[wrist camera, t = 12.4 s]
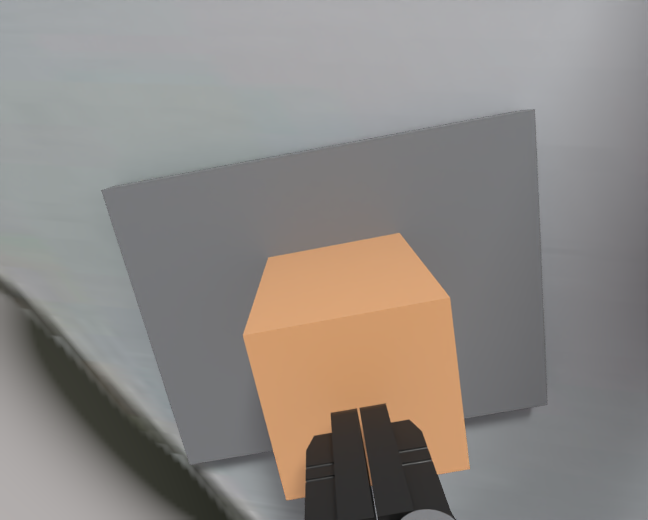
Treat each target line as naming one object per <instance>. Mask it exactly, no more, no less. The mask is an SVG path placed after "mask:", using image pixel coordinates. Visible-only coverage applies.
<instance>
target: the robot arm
mask: <svg viewBox="0 0 648 520" xmlns="http://www.w3.org/2000/svg"><path fill="white" fill-rule="evenodd" d="M359 409H360V415H361V421H362V427H363V433H364V439H365V445H366V451H367V456H368V462H369V468H370V474H371V480H372V486H373V492H374V498H375V504H376V510H377V516H378V520H456V519H455V518H454V516H453V515H452V513H451V511H450V508H449V505H448V503H447V500H446V497H445V494H444V491H443V489H442V486H441V483H440V480H439V477H438V475H437V472H436V469H435V466H434V464H433V462H432V458H431V455H430V452H429V450H428V448H427V444H426V441H425V438H424V436H423V433H422V431H421V430H420V429H419V428H418V427H417V426H416V425H415V424H414V423H413V422H412V421H410V420H403V421H397V422H391V421H390V417H389V413H388V410H387V406H386V403H384V404H378V405H372V406H366V407H361V408H359ZM331 428H332V433H327V434H321V435H315V436H314V437H313V439H312V440H311V442H310V444H309V446H308V448H307V450H306V483H305V520H376V514H375V508H374V501H373V495H372V489H371V483H370V477H369V471H368V466H367V460H366V454H365V449H364V443H363V438H362V432H361V427H360V422H359V416H358V411H357V408H355V409H349V410H344V411H338V412H332V413H331Z"/></svg>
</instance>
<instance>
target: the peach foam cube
mask: <svg viewBox="0 0 648 520" xmlns="http://www.w3.org/2000/svg"><path fill="white" fill-rule="evenodd" d="M243 338H244V342H245V346H246V350H247V354H248V357H249V361H250V365H251V369H252V372H253V376H254V380H255V384H256V388H257V391H258V395H259V399H260V403H261V406H262V410H263V414H264V418H265V422H266V425H267V429H268V433H269V437H270V440H271V444H272V448H273V452H274V456H275V459H276V463H277V467H278V471H279V474H280V478H281V482H282V486H283V490H284V493H285V497H286V500H292V499H297V498H303V497H305V483H306V450H307V448H308V446H309V444H310V442H311V440H312V439H313V437H314V436H315V435H321V434H327V433H332V428H331V413H332V412H338V411H344V410H349V409H355V408H357V411H358V416H359V422H360V427H361V432H362V438H363V443H364V449H365V454H366V460H367V466H368V471H369V477H370V483H371V486H372V480H371V474H370V468H369V462H368V456H367V451H366V445H365V439H364V433H363V427H362V421H361V415H360V409H359V408H361V407H366V406H372V405H378V404H384V403H386V406H387V410H388V413H389V417H390V421H391V422H397V421H403V420H410V421H412V422H413V423H414V424H415V425H416V426H417V427H418V428H419V429H420V430H421V431H422V433H423V436H424V438H425V441H426V444H427V448H428V450H429V452H430V455H431V458H432V462H433V464H434V466H435V469H436V472H437V475H438V474H444V473H449V472H455V471H461V470H467V469H470V466H469V457H468V448H467V440H466V431H465V422H464V414H463V405H462V396H461V388H460V379H459V370H458V362H457V353H456V344H455V335H454V327H453V318H452V309H451V301H450V297H449V295H448V294H447V293H446V292H445V290H444V289H443V288H442V286H441V285H440V284H439V283H438V281H437V280H436V279H435V278H434V276H433V275H432V274H431V272H430V271H429V270H428V269H427V267H426V266H425V265H424V263H423V262H422V261H421V260H420V258H419V257H418V256H417V255H416V253H415V252H414V251H413V249H412V248H411V247H410V246H409V244H408V243H407V242H406V240H405V239H404V238H403V237H402V235H401V234H400V233H396V234H391V235H386V236H380V237H375V238H370V239H364V240H359V241H354V242H348V243H343V244H338V245H332V246H327V247H322V248H316V249H311V250H306V251H300V252H295V253H290V254H284V255H279V256H274V257H268V260H267V263H266V266H265V269H264V272H263V275H262V278H261V281H260V284H259V287H258V290H257V293H256V296H255V299H254V302H253V306H252V309H251V312H250V315H249V318H248V321H247V324H246V327H245V330H244V333H243Z"/></svg>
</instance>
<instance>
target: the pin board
mask: <svg viewBox="0 0 648 520" xmlns="http://www.w3.org/2000/svg"><path fill="white" fill-rule="evenodd" d="M101 191H102V194H103V197H104V200H105V203H106V206H107V209H108V213H109V216H110V219H111V222H112V225H113V228H114V231H115V234H116V237H117V240H118V244H119V247H120V250H121V253H122V256H123V259H124V262H125V265H126V268H127V271H128V275H129V278H130V281H131V284H132V287H133V290H134V293H135V296H136V299H137V302H138V306H139V309H140V312H141V315H142V318H143V321H144V324H145V327H146V330H147V333H148V337H149V340H150V343H151V346H152V349H153V352H154V355H155V358H156V361H157V364H158V368H159V371H160V374H161V377H162V380H163V383H164V386H165V389H166V392H167V395H168V399H169V402H170V405H171V408H172V411H173V414H174V417H175V420H176V423H177V426H178V430H179V433H180V436H181V439H182V442H183V445H184V448H185V451H186V454H187V457H188V461H189V464H190V465H191V464H197V463H203V462H209V461H215V460H221V459H227V458H233V457H239V456H245V455H251V454H257V453H263V452H269V451H273V448H272V444H271V440H270V437H269V433H268V429H267V425H266V422H265V418H264V414H263V410H262V406H261V403H260V399H259V395H258V391H257V388H256V384H255V380H254V376H253V372H252V369H251V365H250V361H249V357H248V354H247V350H246V346H245V342H244V338H243V333H244V330H245V327H246V324H247V321H248V318H249V315H250V312H251V309H252V306H253V302H254V299H255V296H256V293H257V290H258V287H259V284H260V281H261V278H262V275H263V272H264V269H265V266H266V263H267V260H268V257H274V256H279V255H284V254H290V253H295V252H300V251H306V250H311V249H316V248H322V247H327V246H332V245H338V244H343V243H348V242H354V241H359V240H364V239H370V238H375V237H380V236H386V235H391V234H396V233H400V234H401V235H402V237H403V238H404V239H405V240H406V242H407V243H408V244H409V246H410V247H411V248H412V249H413V251H414V252H415V253H416V255H417V256H418V257H419V258H420V260H421V261H422V262H423V263H424V265H425V266H426V267H427V269H428V270H429V271H430V272H431V274H432V275H433V276H434V278H435V279H436V280H437V281H438V283H439V284H440V285H441V286H442V288H443V289H444V290H445V292H446V293H447V294H448V295H449V297H450V301H451V309H452V318H453V327H454V335H455V344H456V353H457V362H458V370H459V379H460V388H461V396H462V405H463V414H464V419H466V418H472V417H478V416H484V415H490V414H495V413H501V412H507V411H513V410H519V409H525V408H531V407H537V406H543V405H547V382H546V359H545V335H544V312H543V288H542V265H541V242H540V218H539V195H538V171H537V148H536V124H535V109H533V110H520V111H515V112H509V113H504V114H498V115H493V116H488V117H482V118H477V119H472V120H466V121H461V122H456V123H450V124H445V125H439V126H434V127H429V128H423V129H418V130H413V131H407V132H402V133H397V134H391V135H386V136H381V137H375V138H370V139H364V140H359V141H354V142H348V143H343V144H338V145H332V146H327V147H322V148H316V149H311V150H305V151H300V152H295V153H289V154H284V155H279V156H273V157H268V158H263V159H257V160H252V161H247V162H241V163H236V164H230V165H225V166H220V167H214V168H209V169H204V170H198V171H193V172H188V173H182V174H177V175H171V176H166V177H161V178H155V179H150V180H145V181H139V182H134V183H129V184H123V185H118V186H113V187H110V188H107V189H104V190H101Z"/></svg>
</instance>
